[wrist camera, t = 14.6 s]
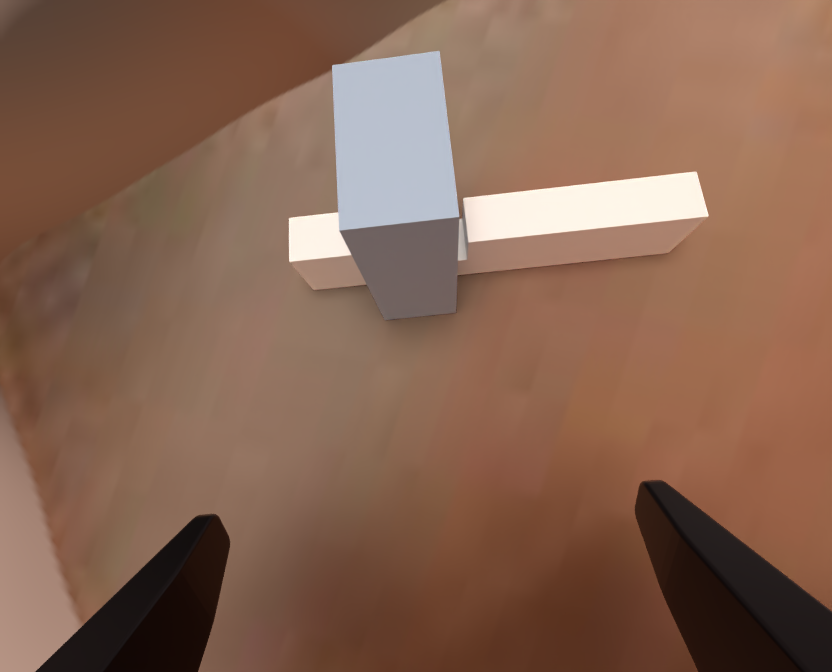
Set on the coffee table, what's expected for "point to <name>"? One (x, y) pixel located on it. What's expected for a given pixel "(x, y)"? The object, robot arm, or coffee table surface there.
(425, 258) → the slotted block
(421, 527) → the coffee table surface
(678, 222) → the slotted rail
